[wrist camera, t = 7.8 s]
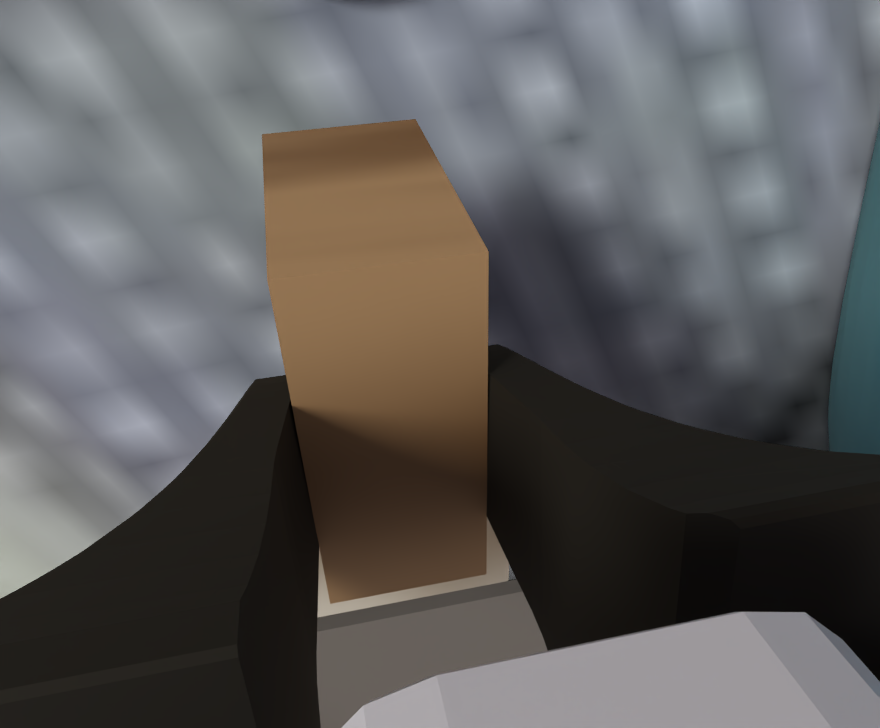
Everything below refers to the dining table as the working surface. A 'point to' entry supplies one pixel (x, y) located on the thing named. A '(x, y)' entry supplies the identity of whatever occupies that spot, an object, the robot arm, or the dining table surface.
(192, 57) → the dining table surface
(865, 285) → the casserole dish
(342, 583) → the tall cardboard box
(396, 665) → the mat
